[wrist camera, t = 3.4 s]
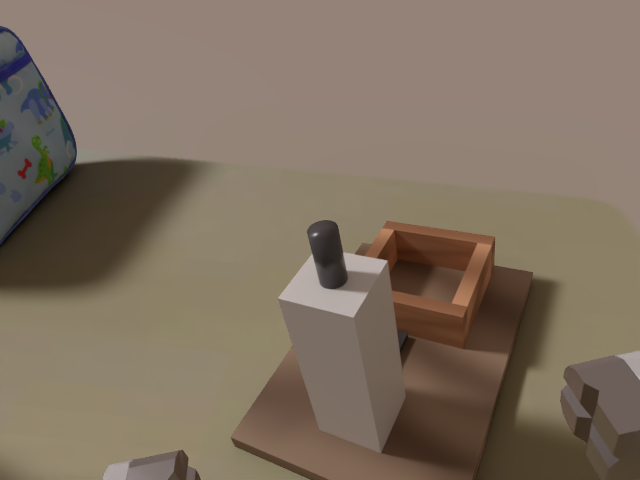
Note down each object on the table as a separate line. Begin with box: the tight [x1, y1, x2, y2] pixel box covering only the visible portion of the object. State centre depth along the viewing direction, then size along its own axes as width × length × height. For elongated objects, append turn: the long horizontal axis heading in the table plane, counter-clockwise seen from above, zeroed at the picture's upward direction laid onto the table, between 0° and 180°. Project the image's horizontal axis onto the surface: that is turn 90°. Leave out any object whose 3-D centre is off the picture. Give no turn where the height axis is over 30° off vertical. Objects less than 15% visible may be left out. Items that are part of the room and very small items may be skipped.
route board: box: [231, 221, 533, 480], centre depth 34 cm, size 20×14×4 cm
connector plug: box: [278, 220, 406, 453], centre depth 27 cm, size 4×4×14 cm
